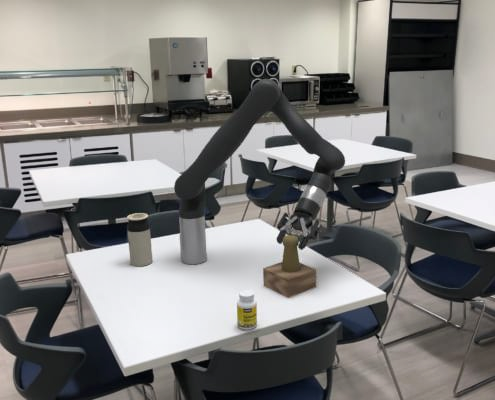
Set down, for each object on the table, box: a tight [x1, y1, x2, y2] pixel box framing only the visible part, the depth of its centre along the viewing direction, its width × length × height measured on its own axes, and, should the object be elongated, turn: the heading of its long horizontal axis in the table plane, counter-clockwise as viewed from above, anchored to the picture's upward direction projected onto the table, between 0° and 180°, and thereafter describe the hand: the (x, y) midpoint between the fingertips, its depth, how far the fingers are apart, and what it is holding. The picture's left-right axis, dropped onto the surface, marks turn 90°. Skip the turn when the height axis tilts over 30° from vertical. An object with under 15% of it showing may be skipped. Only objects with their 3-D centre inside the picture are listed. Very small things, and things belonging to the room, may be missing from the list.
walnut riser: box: [262, 261, 317, 299], centre depth 165 cm, size 12×12×6 cm
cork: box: [281, 234, 301, 273], centre depth 162 cm, size 6×6×11 cm
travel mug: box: [126, 212, 153, 267], centre depth 186 cm, size 8×8×18 cm
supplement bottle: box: [236, 289, 258, 331], centre depth 140 cm, size 5×5×10 cm
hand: (289, 245), depth 162 cm, fingers open, 8 cm apart
